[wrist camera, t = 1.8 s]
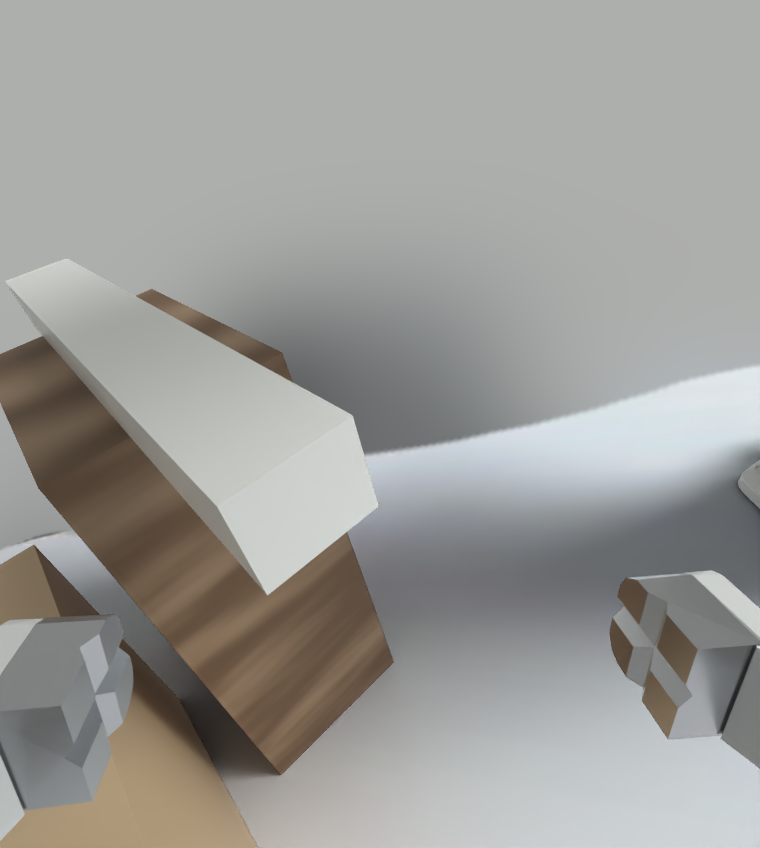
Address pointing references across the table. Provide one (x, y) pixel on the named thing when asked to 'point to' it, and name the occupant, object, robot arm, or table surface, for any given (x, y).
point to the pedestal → (198, 557)
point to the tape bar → (210, 421)
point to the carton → (126, 751)
